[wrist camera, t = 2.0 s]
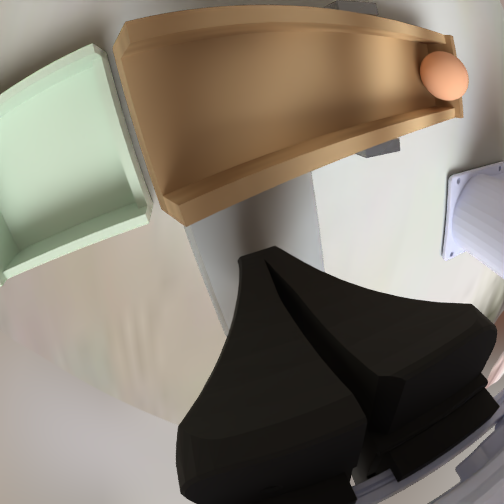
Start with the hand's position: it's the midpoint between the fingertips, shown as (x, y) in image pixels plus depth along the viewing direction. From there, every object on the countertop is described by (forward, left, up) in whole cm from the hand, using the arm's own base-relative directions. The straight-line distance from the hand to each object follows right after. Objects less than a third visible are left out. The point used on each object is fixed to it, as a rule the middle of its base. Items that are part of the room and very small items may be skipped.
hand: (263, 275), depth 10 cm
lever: (-6, -3, -4) cm, 8 cm away
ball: (-13, -6, -4) cm, 15 cm away
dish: (+9, -6, -8) cm, 13 cm away
